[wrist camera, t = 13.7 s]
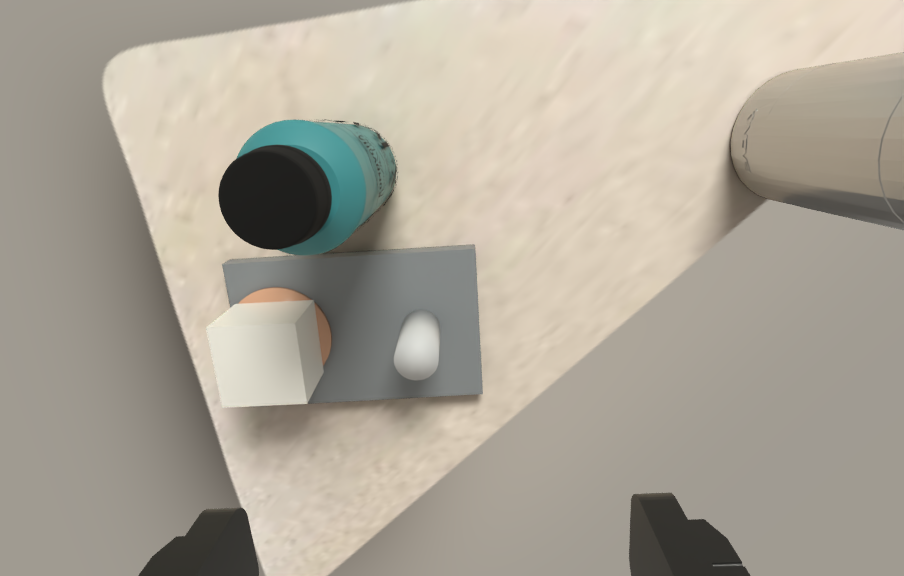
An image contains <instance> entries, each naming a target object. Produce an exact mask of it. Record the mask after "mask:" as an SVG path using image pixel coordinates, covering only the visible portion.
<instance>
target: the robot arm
mask: <svg viewBox="0 0 904 576" xmlns="http://www.w3.org/2000/svg"><path fill="white" fill-rule="evenodd" d="M731 157H732V161H733V165H734V168H735V170H736V172H737V174H738V176H739V178H740V179H741V181H742V182H743V183H744V184H745V185H746V186H747V188H749V189H750V190H751V191H753V192H754V193H756V194H757V195H759V196H762V197H765V198H767V199H770V200H775V201H779V202H783V203H787V204H792V205H796V206H800V207H804V208H808V209H813V210H817V211H822V212H826V213H831V214H834V215H839V216H843V217H848V218H852V219H856V220H861V221H865V222H870V223H874V224H878V225H883V226H887V227H891V228H896V229H900V230H904V52H902V53H896V54H889V55H883V56H877V57H871V58H865V59H859V60H853V61H846V62H840V63H833V64H827V65H821V66H815V67H809V68H803V69H797V70H793V71H790V72H786V73H782V74H780V75H779V76H777V77H775V78H773V79H771V80H769V81H768V82H766V83H765V84H764V85H762V86H761V87H760V88H758V89H757V90H756V91H755V92H754V93H753V95H752V96H751V97H750V98H749V99H748V100H747V101H746V103H745V105H744V106H743V108H742V109H741V111H740V113H739V115H738V117H737V120H736V122H735V125H734V127H733V132H732V138H731ZM629 561H630V569H631V576H750V574H749V573H748V571H747V569H746V568H745V567H743V566H742V561H741V560H740V558H739V557H738V555H737V553H736V552H735V550H734V549H733V547H732V545H731V544H730V542H729V541H728V539H727V538H726V537H725V536H724V535H722V534H721V533H720V532H719V531H718V530H716V529H715V528H714V527H713V526H712V525H710V524H709V523H708V522H706V520H704V519H699V520H688V519H687V517H686V516H685V514H684V512H683V510H682V508H681V507H680V505H679V503H678V501H677V499H676V498H675V496H674V495H673V494H672V493H651V494H634V495H633V496H632V499H631V518H630V549H629ZM139 576H259V568H258V562H257V558H256V553H255V548H254V544H253V539H252V534H251V530H250V525H249V521H248V516H247V513H246V511H245V510H244V509H243V508H224V509H206V510H204V511H203V512H202V513H201V514H200V515H199V517H198V518H197V520H196V521H195V522H194V524H193V525H192V527H191V528H190V530H189V531H188V533H187V534H186V536H182V537H176V538H174V539H173V540H172V541H171V542H170V543H168V544H167V545H166V546H165V547H163V548H162V549H161V550H160V551H159V552H157V553H156V554H155V555H154V556H152V558H151V559H150V561H149V562H148V563H147V565H146V566H145V567H144V569H143V570H142V571H141V573H140V574H139Z"/></svg>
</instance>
